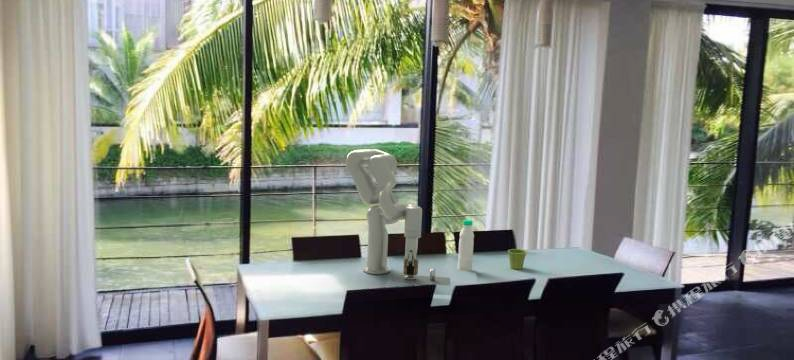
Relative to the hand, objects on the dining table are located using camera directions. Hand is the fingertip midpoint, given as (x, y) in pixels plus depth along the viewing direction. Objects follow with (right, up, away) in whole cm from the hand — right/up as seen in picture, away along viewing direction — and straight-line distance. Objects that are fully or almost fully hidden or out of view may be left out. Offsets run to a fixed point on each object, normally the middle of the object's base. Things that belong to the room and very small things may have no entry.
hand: (410, 271), depth 301 cm
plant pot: (+54, -3, +33) cm, 63 cm away
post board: (+5, -5, 0) cm, 7 cm away
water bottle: (+27, -3, +24) cm, 36 cm away
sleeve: (0, -1, 0) cm, 1 cm away
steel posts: (+4, -3, 0) cm, 5 cm away
